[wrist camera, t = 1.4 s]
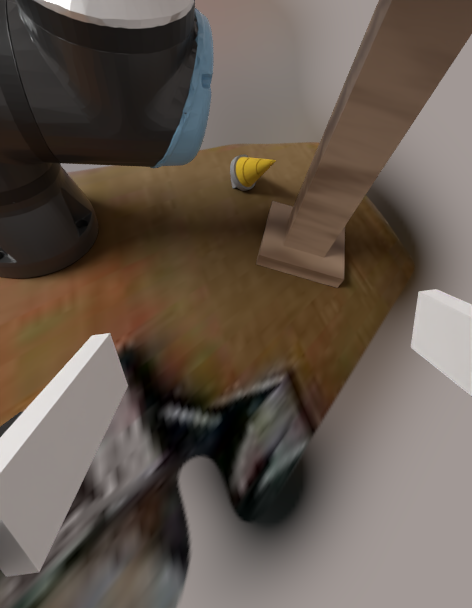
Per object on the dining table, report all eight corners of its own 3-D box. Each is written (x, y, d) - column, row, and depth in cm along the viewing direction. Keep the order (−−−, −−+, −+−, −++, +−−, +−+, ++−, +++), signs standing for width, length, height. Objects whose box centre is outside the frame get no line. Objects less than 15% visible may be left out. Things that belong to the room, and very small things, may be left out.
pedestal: (337, 287, 39) (629, -60, 13) (255, 264, 38) (394, -134, 13) (339, 231, 45) (537, -75, 20) (269, 210, 45) (379, -125, 20)
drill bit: (244, 173, 50) (289, 156, 43) (237, 200, 49) (281, 187, 42) (223, 154, 46) (268, 132, 39) (215, 183, 46) (259, 165, 38)
